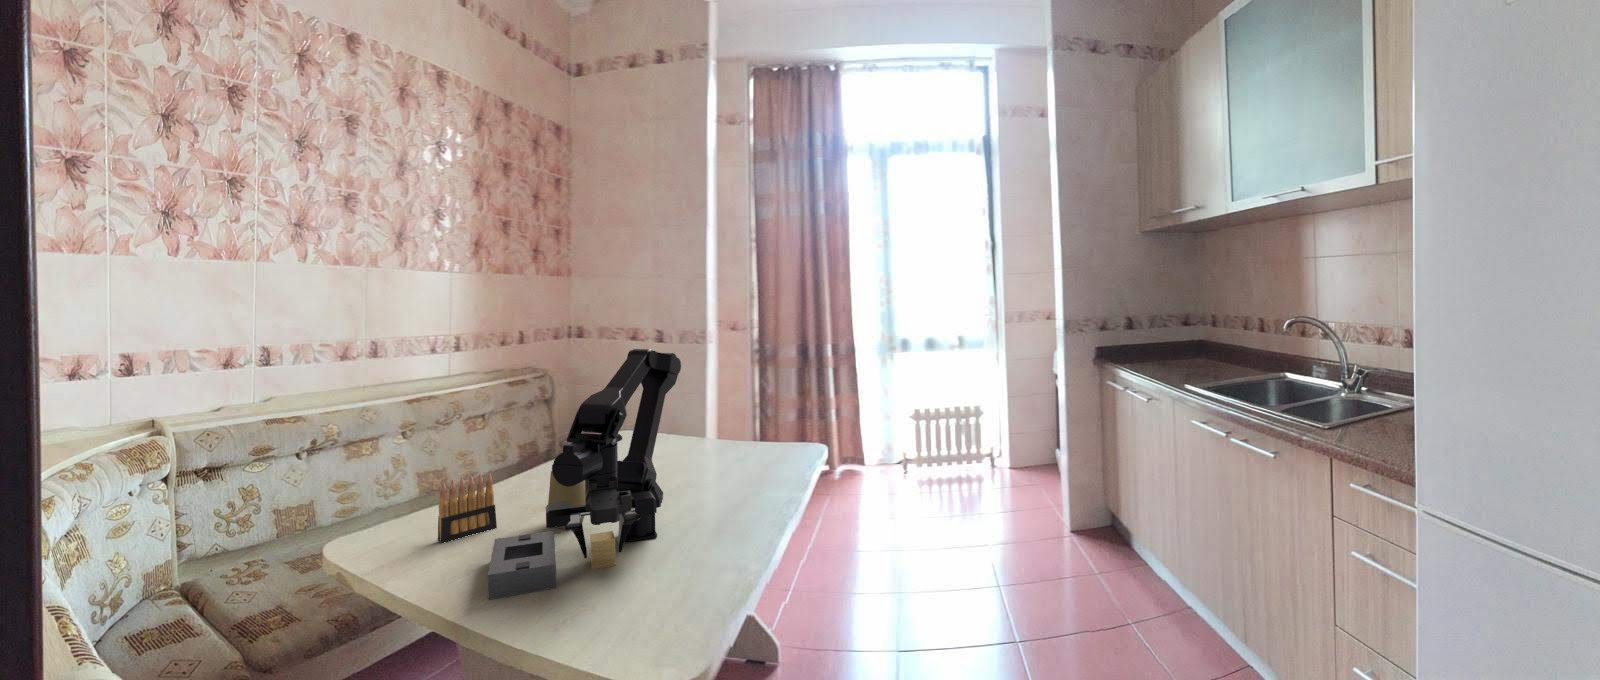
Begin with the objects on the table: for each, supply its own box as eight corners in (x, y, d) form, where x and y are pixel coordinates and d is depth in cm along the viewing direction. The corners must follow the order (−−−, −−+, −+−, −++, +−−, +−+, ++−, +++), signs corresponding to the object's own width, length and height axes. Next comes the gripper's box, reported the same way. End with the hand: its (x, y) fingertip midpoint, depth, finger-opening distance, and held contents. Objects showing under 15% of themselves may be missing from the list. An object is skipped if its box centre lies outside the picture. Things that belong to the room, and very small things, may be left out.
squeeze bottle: (596, 522, 128) (594, 440, 127) (563, 534, 121) (561, 447, 120) (572, 515, 133) (570, 435, 132) (539, 526, 126) (537, 442, 125)
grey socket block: (554, 551, 113) (553, 529, 113) (556, 587, 98) (555, 563, 98) (495, 560, 109) (494, 537, 109) (488, 599, 94) (487, 573, 94)
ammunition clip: (441, 543, 116) (439, 483, 116) (437, 541, 118) (435, 482, 117) (497, 528, 125) (495, 472, 124) (493, 526, 126) (491, 470, 125)
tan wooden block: (613, 557, 111) (612, 530, 110) (615, 565, 107) (615, 538, 107) (590, 560, 109) (589, 534, 109) (592, 569, 105) (591, 542, 105)
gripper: (545, 489, 96) (547, 583, 97) (661, 476, 103) (662, 563, 104) (545, 471, 106) (546, 556, 107) (650, 460, 114) (651, 540, 114)
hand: (602, 554), depth 108 cm, fingers open, 6 cm apart
